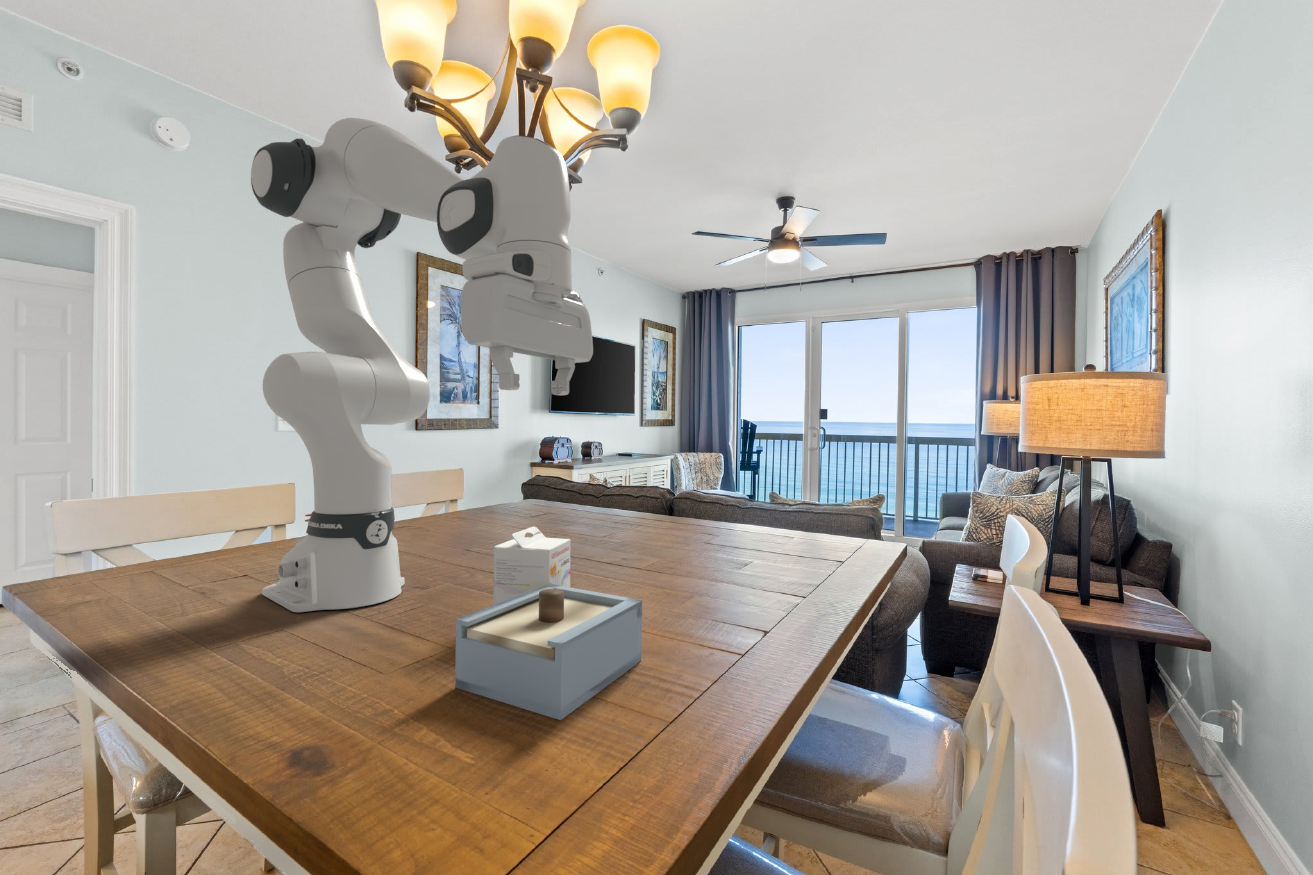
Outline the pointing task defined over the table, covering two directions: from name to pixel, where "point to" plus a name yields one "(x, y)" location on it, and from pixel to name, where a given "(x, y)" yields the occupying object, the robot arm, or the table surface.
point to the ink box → (530, 564)
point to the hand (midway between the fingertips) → (536, 392)
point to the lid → (535, 623)
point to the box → (580, 656)
